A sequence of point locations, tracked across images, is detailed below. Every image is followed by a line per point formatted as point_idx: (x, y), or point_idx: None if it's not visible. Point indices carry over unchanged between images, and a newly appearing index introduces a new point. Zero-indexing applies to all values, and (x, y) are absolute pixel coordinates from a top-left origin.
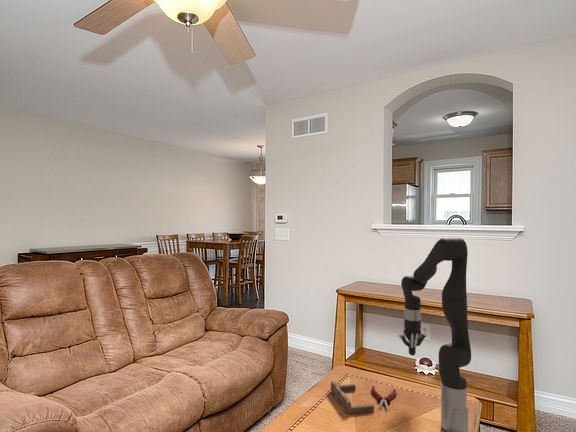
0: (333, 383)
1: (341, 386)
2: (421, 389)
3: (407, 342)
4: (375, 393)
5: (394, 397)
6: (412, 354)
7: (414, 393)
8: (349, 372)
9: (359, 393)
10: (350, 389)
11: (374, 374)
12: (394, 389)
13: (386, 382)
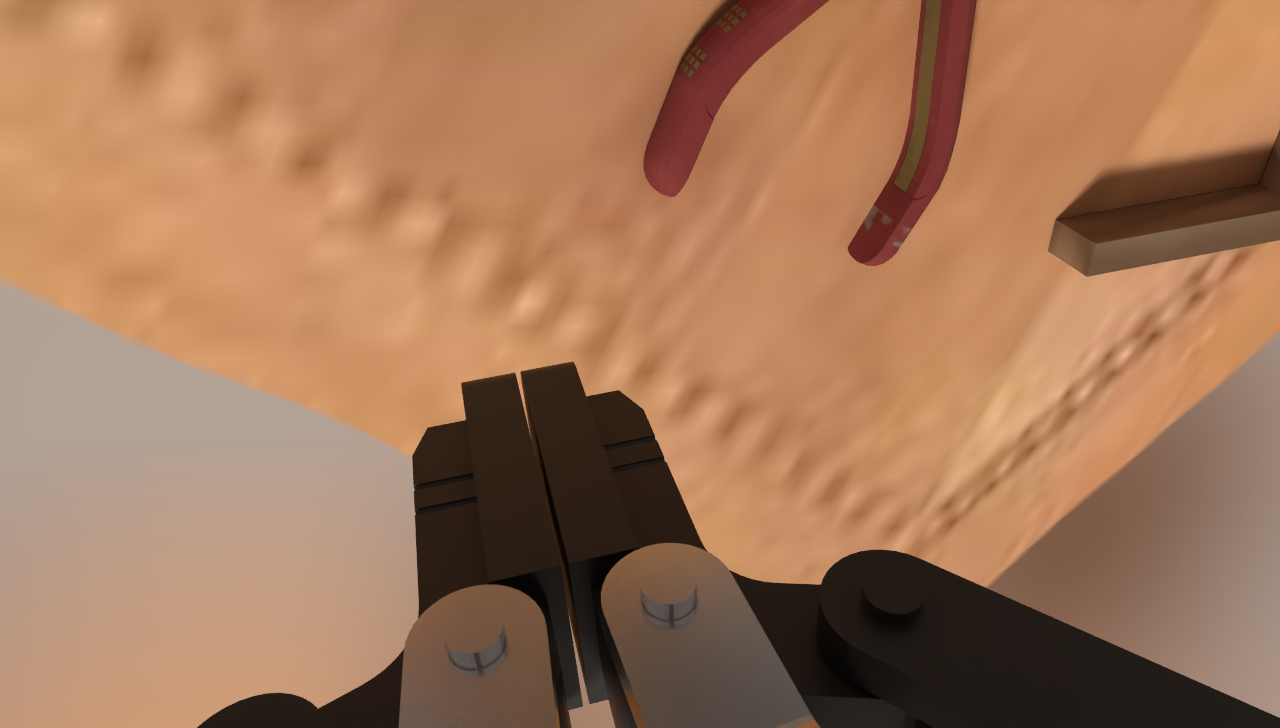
0: None
1: (1241, 221)
2: (223, 238)
3: (1065, 725)
4: (966, 68)
5: (729, 9)
6: (560, 376)
7: (380, 123)
8: None
9: (1054, 156)
10: (1120, 218)
11: None
12: (679, 157)
13: None
